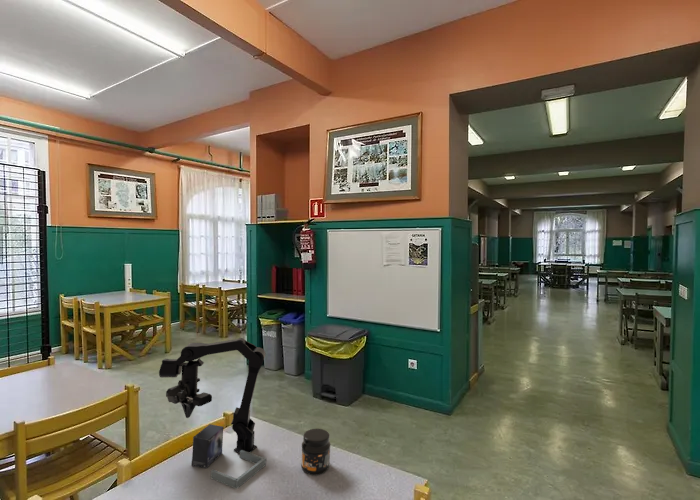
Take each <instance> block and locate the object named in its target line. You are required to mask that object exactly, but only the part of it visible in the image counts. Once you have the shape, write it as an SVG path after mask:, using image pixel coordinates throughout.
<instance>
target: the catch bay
mask: <svg viewBox="0 0 700 500" xmlns="http://www.w3.org/2000/svg"><path fill="white" fill-rule="evenodd" d="M239 458H240V459H242V460H245V461H247V462H250V463H254V464H253V465H252V466H251V467H250V468H249V469H247V470H246V471H245V472H243V473H242V474H241V475H240V476H238V477H237V478H236V477H234V476H231V475H229V474H226V473H224V472H221V471H218V470H216V469H212V470H211V471H210V479H212V480H214V481H217V482H219V483H220V484H224V485H226V486H229V487H231V488H233V489H236V490H237V489H239V487H241V486H242V485H243V484H244V483H246V482H247V481H248V480H249V479H251V477H253V476H254V475H255V474H257V473H258V472H259V471H260V470H261V469H264V467H266V465H267V458H266V457H263V456H260V455H257V454H255V453H252V452H250V453H249V452H247V451H244V450H241V451H240V453H239Z"/></svg>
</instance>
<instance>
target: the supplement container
mask: <svg viewBox="0 0 700 500" xmlns="http://www.w3.org/2000/svg"><path fill="white" fill-rule="evenodd" d="M330 457H331V442H330V433H329V431H327V430H325V429H323V428H311V429H308V430H306V431H305V432H304V433H303V438H302V442H301V460H300V467H301V470H302V471H303V472H304V473H306V474H308V475H311V476H318V475H322V474H324V473H326V472H327V471H328V470H329V468H330V464H331V463H330V462H331V460H330V459H331V458H330Z"/></svg>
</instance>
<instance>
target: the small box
mask: <svg viewBox="0 0 700 500" xmlns="http://www.w3.org/2000/svg"><path fill="white" fill-rule="evenodd" d="M192 437H193V439H192V451H191V452H192V454H191V455H192V456H191V466H192V467H197V468H202V469H207V468H208V467H209V466H211V464H212V463H214V462H215V461H216V460H217V459H218V458H219V457H220V456H222V454H223V440H224V439H223V438H224V426H221V425H215V424H211V423H209V424H208V425H207V426H205V428H203V429H202V430H200V431H199V432H198V433H197V434H195V435H194V436H192Z"/></svg>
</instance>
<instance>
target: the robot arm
mask: <svg viewBox="0 0 700 500" xmlns="http://www.w3.org/2000/svg"><path fill="white" fill-rule="evenodd" d="M180 351H181V352H180V356H179V357H178V358H172V359H171V358H163V359H162V360H161V365H160V368H159V370H158V376H159V378H161V379H162V378H177V377H178V376H179V375H181V379H180V380H178V382H177V385H175V386H172V387H169V388H168V389H167V390H166V391H165V397H166V398H167V401H168V403H172V404H174V405H176V404H177V405H178V404H180V405H181V406H182V409H183V413H184V416H185V418H186V419H189V418H190V417H191V416H192V414H193V412H194V409H195V408H196V406H197V407H203V406H205V405H207V404H209V403H211V402H212V401H213V395H212V394H211V393H208V392H201V393H199V392H200V391H201V390H200V388H198V382H199V383H200V382H201V378H199V377H198V376H199V375H198V374H199V372H198V371H199V367H202V366H203V365H204V364H205V362H204V360H201V358H203V357H206V356H208V355H209V356H210V355H216V354H221V353H227V352H233V351H237V352H239V354H241V355H242V356H243V357H244V358H245V359H246V360H248V367H247V368H248V374H247V377H246V380H245V381H246V382H245V386H244V391H243V394H242V396H241V397H242V398H241V402H240V407H235V410H234V412H233V414H232V415H233V417H232V421H231V423H230V425H232V427H231V428H232V430H233V432H234V433H236V436H237V437H236V438H237V440H236V447H235V448H233V451H234V452H237V453H239V454H240V451H241V450H244V451H247V452H249V453H252V452H253V451H255V450H256V449H257V448H258V446H257V445H255V430H254V429H255V427H256V426H255V425H256V422H255V421H253V420H252V418H251V403H252V399H253V395H254V391H255V387H256V383H257V379H258V375H259V372H260V370H261V368H262V366H263V363H264V361H265V358H266V355H267V354H266V351H265V349H263V348H262V347H257V346H256V344H253V343H251V342H249V341H247V340H246V339H244V338H243V337H239V338H235V339H229V340H223V341H216V342H211V343H210V342H209V343H204V342H190V343H188V344H187V345H185V346H184V347H182V348H181V350H180Z"/></svg>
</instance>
